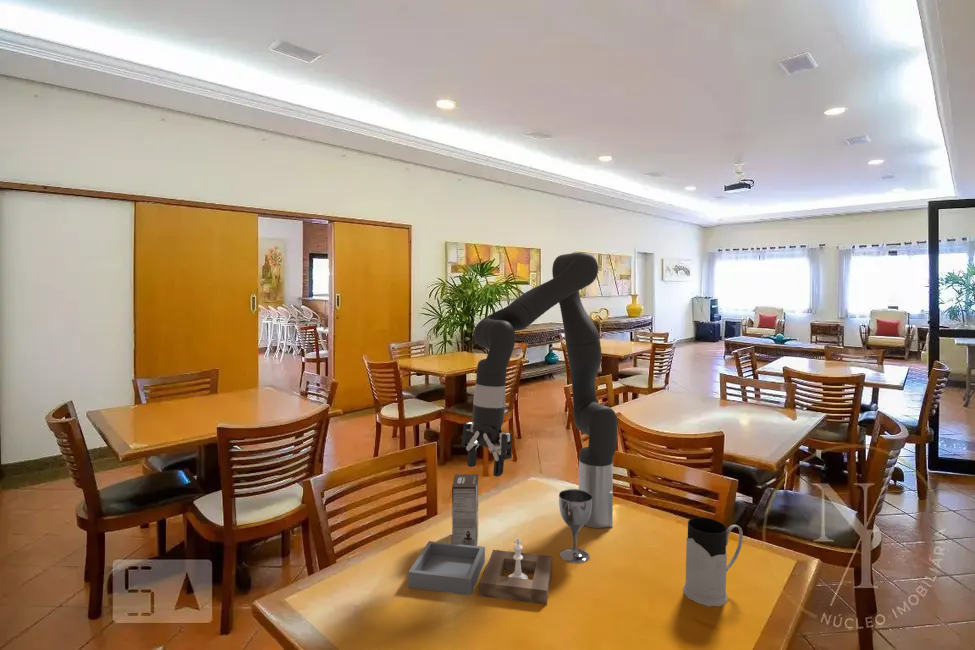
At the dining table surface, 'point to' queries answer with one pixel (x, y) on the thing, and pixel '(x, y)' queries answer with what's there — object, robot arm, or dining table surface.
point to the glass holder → (708, 561)
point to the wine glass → (575, 520)
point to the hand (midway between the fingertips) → (484, 470)
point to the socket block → (516, 587)
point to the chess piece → (518, 561)
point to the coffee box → (465, 509)
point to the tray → (447, 568)
